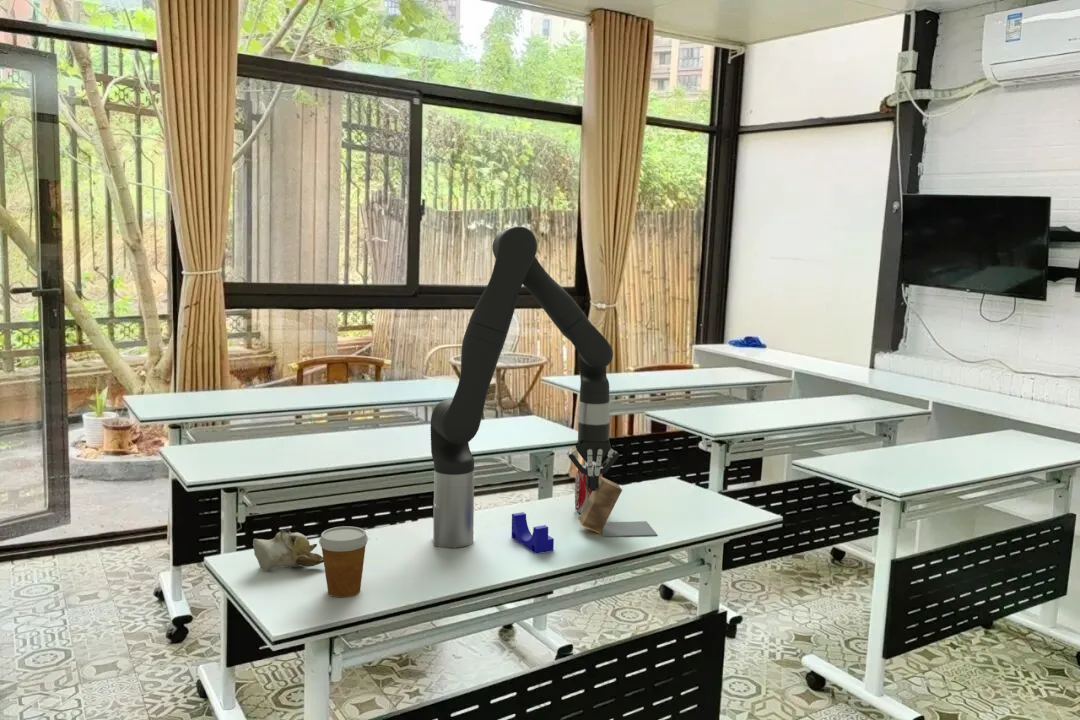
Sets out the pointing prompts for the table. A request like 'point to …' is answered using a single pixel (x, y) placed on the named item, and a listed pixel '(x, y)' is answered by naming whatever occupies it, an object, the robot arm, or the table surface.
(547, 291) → the robot arm
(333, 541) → the disposable coffee cup
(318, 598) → the table surface
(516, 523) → the cable clip
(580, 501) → the soda can
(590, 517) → the light brown wooden block
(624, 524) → the rubber mat
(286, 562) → the ceramic sculpture
